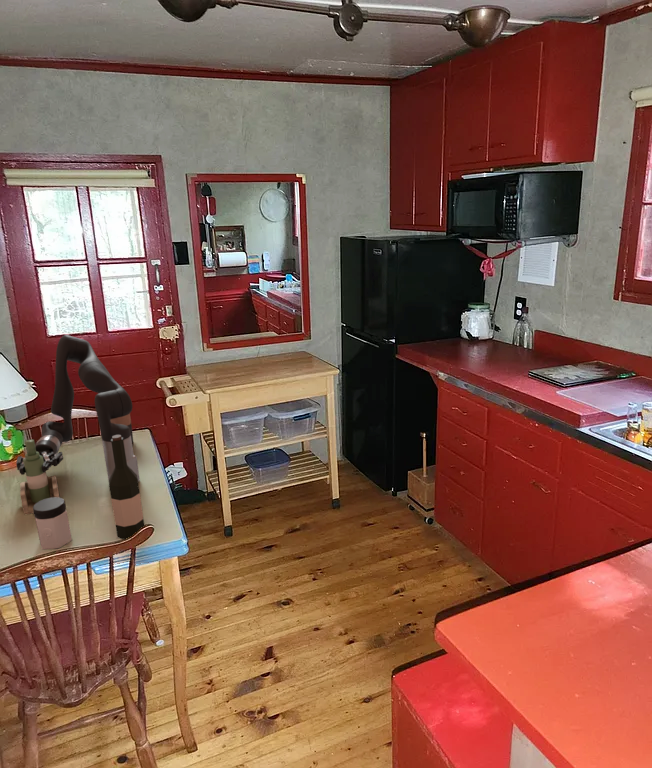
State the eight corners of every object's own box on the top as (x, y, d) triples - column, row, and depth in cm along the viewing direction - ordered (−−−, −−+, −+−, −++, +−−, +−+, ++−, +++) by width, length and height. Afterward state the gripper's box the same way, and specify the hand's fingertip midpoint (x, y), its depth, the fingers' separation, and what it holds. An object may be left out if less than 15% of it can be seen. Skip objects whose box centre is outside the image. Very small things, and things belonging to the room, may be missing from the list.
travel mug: (129, 438, 235) (122, 392, 230) (137, 443, 230) (130, 396, 224) (111, 444, 231) (103, 397, 225) (118, 449, 225) (111, 401, 219)
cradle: (24, 500, 186) (20, 482, 185) (58, 493, 191) (55, 475, 189) (24, 514, 178) (20, 496, 176) (60, 506, 182) (57, 487, 180)
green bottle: (54, 495, 186) (43, 438, 180) (41, 503, 180) (29, 445, 174) (40, 493, 187) (29, 436, 181) (27, 501, 182) (14, 443, 176)
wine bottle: (140, 539, 162) (126, 441, 153) (111, 539, 162) (95, 442, 154) (149, 523, 170) (136, 430, 161) (122, 524, 170) (107, 431, 161)
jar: (33, 550, 158) (25, 512, 155) (45, 534, 166) (38, 497, 163) (66, 548, 159) (59, 510, 155) (77, 532, 167) (70, 496, 163)
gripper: (21, 441, 191) (5, 462, 176) (66, 436, 194) (55, 457, 178) (25, 461, 194) (10, 484, 178) (70, 457, 196) (59, 478, 181)
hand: (32, 470), depth 178 cm, fingers closed on green bottle, 5 cm apart
